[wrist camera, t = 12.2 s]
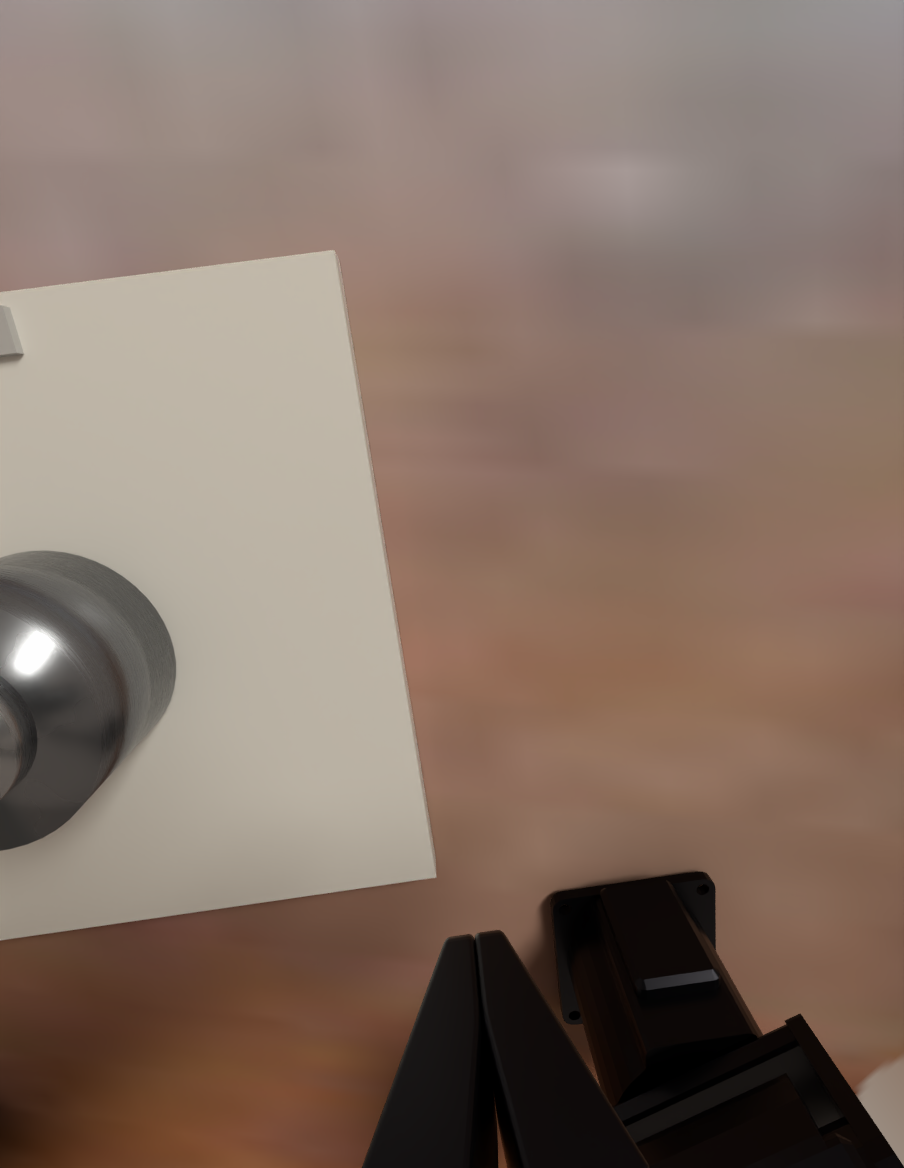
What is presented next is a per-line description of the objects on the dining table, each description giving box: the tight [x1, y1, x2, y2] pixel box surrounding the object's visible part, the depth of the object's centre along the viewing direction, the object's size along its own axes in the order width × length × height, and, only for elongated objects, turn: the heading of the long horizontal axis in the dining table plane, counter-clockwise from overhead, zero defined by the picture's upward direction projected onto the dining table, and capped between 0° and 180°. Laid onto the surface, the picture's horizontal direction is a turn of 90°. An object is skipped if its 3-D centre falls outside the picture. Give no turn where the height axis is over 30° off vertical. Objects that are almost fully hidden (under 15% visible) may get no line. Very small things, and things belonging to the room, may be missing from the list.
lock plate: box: [0, 250, 436, 940], centre depth 19 cm, size 21×21×1 cm
